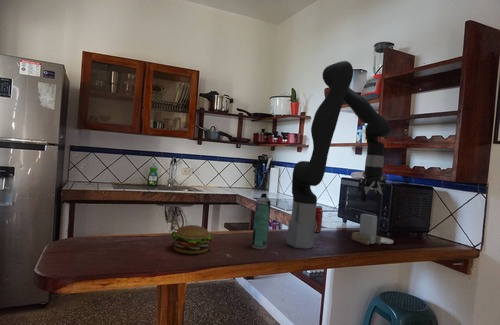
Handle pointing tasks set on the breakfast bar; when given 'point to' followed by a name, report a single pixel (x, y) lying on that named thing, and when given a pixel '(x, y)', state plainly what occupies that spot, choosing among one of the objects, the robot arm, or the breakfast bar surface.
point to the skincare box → (368, 227)
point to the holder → (364, 238)
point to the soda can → (318, 219)
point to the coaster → (386, 240)
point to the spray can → (261, 222)
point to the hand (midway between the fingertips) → (370, 202)
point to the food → (192, 239)
